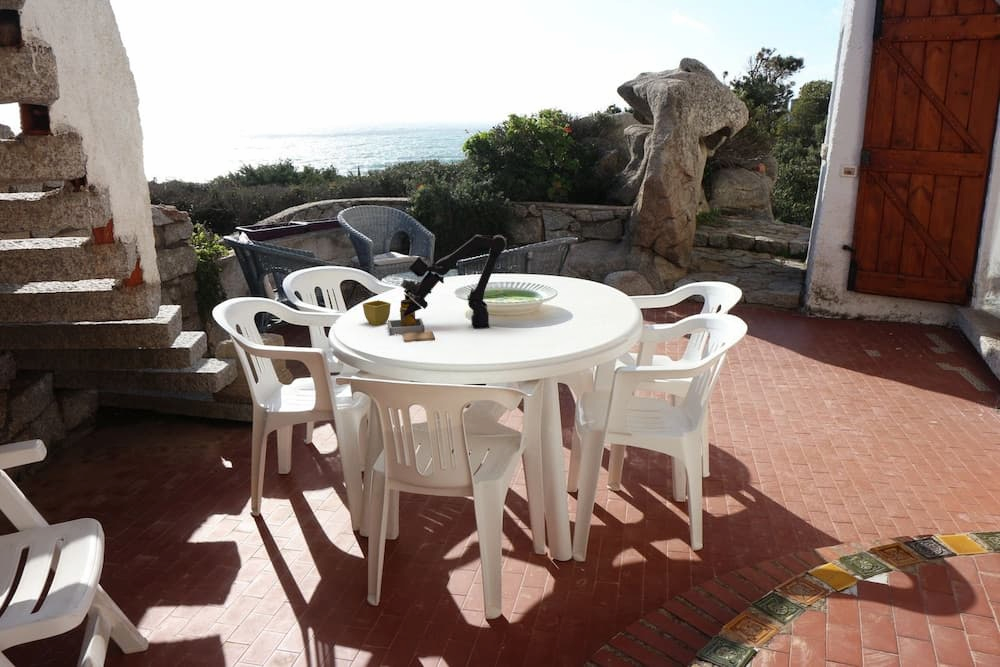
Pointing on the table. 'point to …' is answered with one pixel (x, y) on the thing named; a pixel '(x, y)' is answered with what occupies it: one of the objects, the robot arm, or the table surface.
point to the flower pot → (377, 311)
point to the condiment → (408, 319)
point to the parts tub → (397, 329)
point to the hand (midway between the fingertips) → (402, 313)
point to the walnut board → (418, 336)
